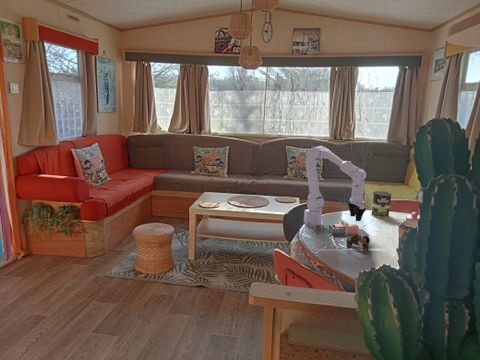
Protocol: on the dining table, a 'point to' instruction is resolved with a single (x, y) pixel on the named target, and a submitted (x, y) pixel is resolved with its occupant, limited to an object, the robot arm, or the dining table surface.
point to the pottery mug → (355, 241)
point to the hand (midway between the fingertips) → (355, 218)
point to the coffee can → (381, 204)
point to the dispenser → (344, 230)
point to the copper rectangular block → (349, 228)
